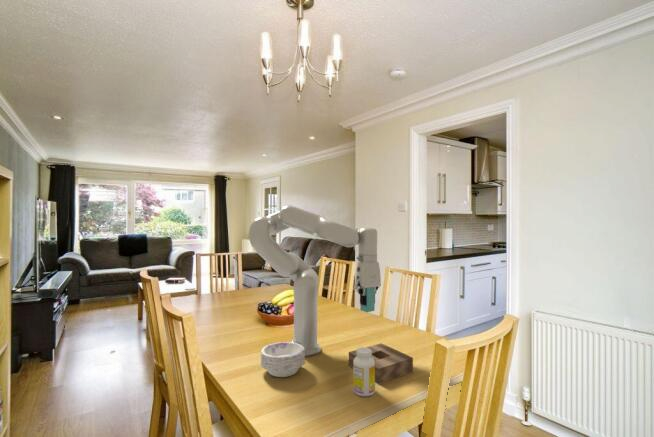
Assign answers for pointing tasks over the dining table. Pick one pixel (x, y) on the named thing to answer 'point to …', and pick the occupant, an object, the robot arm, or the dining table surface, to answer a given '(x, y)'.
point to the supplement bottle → (364, 372)
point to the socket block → (387, 362)
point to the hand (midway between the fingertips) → (367, 303)
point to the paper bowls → (282, 358)
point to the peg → (369, 300)
